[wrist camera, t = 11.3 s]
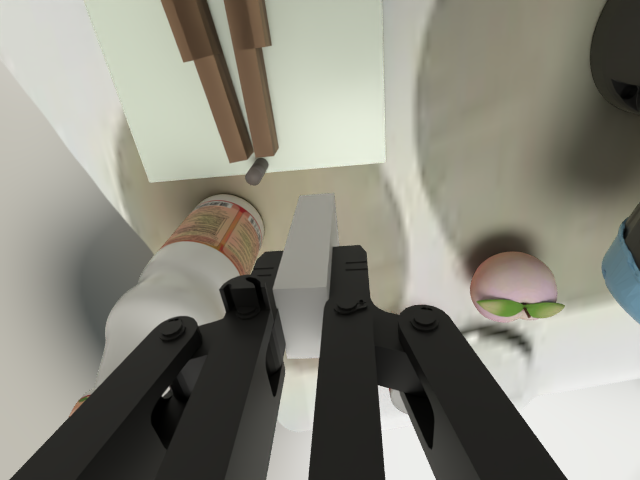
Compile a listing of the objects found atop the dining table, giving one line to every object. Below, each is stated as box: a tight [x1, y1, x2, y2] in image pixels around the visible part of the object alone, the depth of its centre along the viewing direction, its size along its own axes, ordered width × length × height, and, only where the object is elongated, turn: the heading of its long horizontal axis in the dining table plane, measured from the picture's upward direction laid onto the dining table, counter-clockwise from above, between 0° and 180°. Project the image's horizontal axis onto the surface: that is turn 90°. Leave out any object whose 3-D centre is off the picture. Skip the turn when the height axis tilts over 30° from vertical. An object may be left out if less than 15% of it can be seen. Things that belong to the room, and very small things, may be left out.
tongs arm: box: [161, 0, 254, 163], centre depth 35 cm, size 3×17×3 cm, turn 13°
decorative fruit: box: [470, 252, 565, 323], centre depth 43 cm, size 9×8×10 cm
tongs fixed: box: [224, 0, 279, 185], centre depth 35 cm, size 4×20×4 cm, turn 7°
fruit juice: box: [69, 194, 264, 417], centre depth 35 cm, size 9×9×28 cm
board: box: [84, 0, 386, 183], centre depth 37 cm, size 28×20×1 cm
